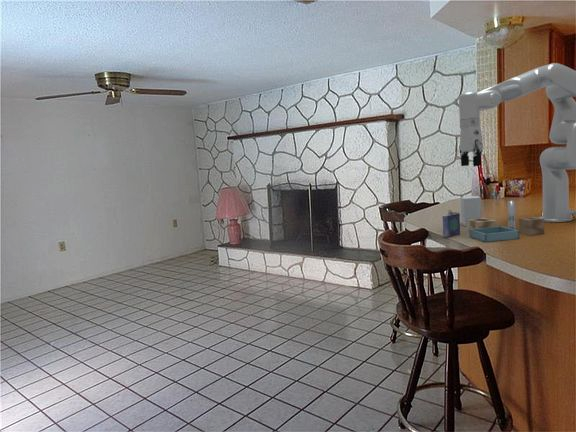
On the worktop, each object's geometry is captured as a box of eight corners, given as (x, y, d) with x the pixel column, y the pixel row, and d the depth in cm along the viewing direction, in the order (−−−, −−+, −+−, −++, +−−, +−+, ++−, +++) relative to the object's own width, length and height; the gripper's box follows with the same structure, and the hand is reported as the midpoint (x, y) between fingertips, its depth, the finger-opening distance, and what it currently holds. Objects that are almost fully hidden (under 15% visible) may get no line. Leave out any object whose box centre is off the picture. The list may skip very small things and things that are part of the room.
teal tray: (501, 233, 167) (500, 226, 166) (519, 238, 156) (519, 230, 155) (469, 237, 166) (469, 229, 165) (485, 242, 154) (485, 234, 154)
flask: (446, 238, 168) (445, 211, 166) (440, 237, 170) (439, 211, 169) (461, 234, 172) (460, 208, 171) (455, 233, 175) (454, 208, 173)
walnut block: (533, 231, 165) (533, 216, 164) (544, 234, 159) (544, 218, 158) (519, 233, 165) (518, 218, 164) (529, 235, 159) (529, 220, 158)
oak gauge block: (485, 229, 177) (485, 217, 176) (497, 232, 169) (496, 220, 168) (467, 231, 176) (467, 219, 176) (478, 234, 168) (478, 222, 168)
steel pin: (512, 229, 172) (512, 200, 170) (516, 230, 170) (516, 201, 168) (506, 230, 172) (506, 201, 170) (510, 231, 169) (510, 201, 168)
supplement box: (482, 225, 186) (481, 197, 184) (464, 226, 187) (463, 198, 185) (478, 222, 193) (477, 195, 191) (461, 223, 194) (460, 196, 192)
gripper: (490, 120, 162) (491, 165, 164) (467, 124, 179) (469, 164, 181) (471, 122, 161) (473, 167, 164) (450, 126, 179) (452, 166, 181)
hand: (471, 165), depth 173 cm, fingers open, 9 cm apart
